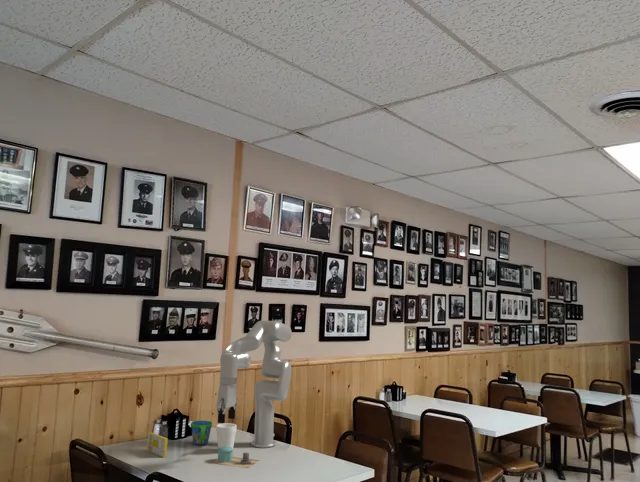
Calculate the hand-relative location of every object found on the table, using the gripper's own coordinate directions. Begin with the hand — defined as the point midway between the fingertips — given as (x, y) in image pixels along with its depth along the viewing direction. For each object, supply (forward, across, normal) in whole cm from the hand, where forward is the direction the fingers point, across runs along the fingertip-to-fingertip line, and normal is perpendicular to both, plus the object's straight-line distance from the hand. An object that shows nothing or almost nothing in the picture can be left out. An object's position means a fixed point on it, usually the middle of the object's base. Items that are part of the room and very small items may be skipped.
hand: (226, 420), depth 233 cm
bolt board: (+18, 0, +5) cm, 19 cm away
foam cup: (+19, -14, -7) cm, 24 cm away
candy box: (+19, -3, -37) cm, 42 cm away
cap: (+17, 0, 0) cm, 17 cm away
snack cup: (+18, -26, -27) cm, 42 cm away
